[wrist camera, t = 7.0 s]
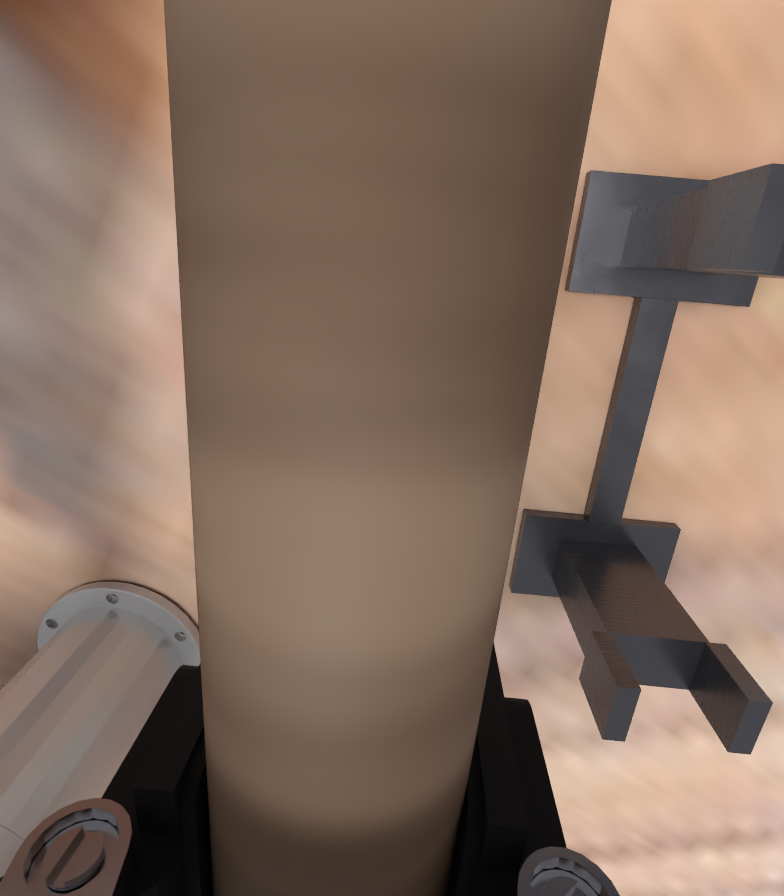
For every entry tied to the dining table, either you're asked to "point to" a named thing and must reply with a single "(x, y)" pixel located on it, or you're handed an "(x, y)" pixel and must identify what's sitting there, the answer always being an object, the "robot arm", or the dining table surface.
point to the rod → (361, 400)
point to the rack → (601, 527)
